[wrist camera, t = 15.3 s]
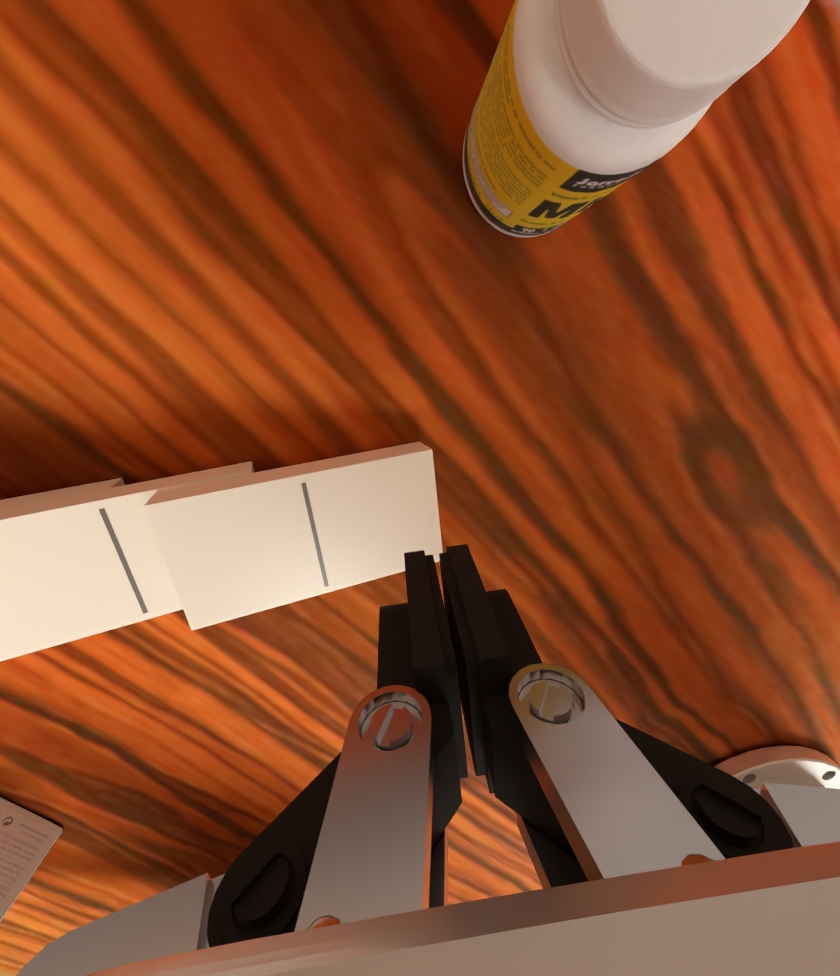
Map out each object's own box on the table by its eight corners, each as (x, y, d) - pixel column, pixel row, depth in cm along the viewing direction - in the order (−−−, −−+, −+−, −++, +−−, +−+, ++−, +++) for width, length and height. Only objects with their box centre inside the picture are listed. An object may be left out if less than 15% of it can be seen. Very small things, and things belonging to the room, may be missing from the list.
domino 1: (251, 470, 15) (-96, 539, 12) (281, 581, 17) (-15, 665, 14) (252, 460, 17) (-58, 519, 13) (279, 563, 18) (10, 636, 15)
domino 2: (432, 449, 15) (143, 506, 13) (443, 560, 17) (191, 630, 14) (419, 441, 17) (157, 490, 14) (430, 544, 19) (199, 605, 16)
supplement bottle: (500, 267, 15) (629, 179, 7) (434, 132, 13) (504, -181, 5) (615, 188, 14) (902, -8, 6) (561, 37, 13) (849, -474, 5)
